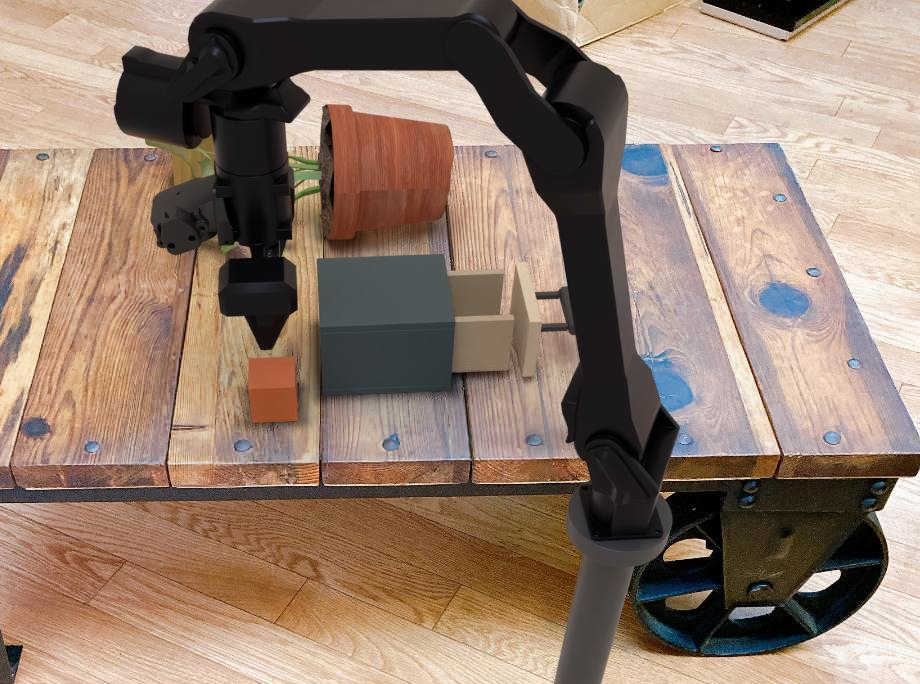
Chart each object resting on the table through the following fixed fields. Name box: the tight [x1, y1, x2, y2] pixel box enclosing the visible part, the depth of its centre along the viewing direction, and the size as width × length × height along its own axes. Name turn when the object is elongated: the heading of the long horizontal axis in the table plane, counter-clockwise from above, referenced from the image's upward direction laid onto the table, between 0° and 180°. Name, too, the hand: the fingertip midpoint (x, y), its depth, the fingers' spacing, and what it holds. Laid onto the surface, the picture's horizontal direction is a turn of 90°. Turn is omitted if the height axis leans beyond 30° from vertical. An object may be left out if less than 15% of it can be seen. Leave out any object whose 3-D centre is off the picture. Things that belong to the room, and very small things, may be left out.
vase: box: [170, 55, 215, 186], centre depth 128 cm, size 6×6×14 cm
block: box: [247, 355, 299, 424], centre depth 106 cm, size 4×4×4 cm
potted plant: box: [144, 103, 455, 255], centre depth 121 cm, size 16×15×35 cm
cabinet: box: [316, 253, 455, 397], centre depth 109 cm, size 13×11×9 cm
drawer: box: [447, 261, 575, 378], centre depth 109 cm, size 16×9×7 cm, turn 94°
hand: (266, 315), depth 99 cm, fingers open, 9 cm apart
